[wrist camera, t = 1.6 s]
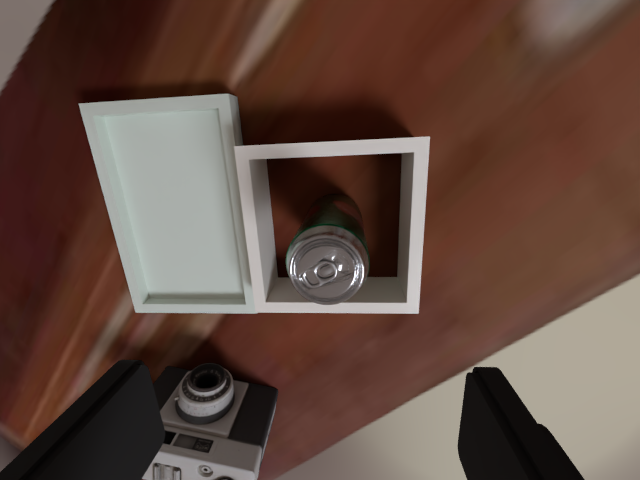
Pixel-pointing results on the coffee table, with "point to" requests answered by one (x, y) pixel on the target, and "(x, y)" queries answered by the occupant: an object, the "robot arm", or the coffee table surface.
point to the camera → (211, 425)
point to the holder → (376, 290)
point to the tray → (174, 200)
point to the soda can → (329, 252)
